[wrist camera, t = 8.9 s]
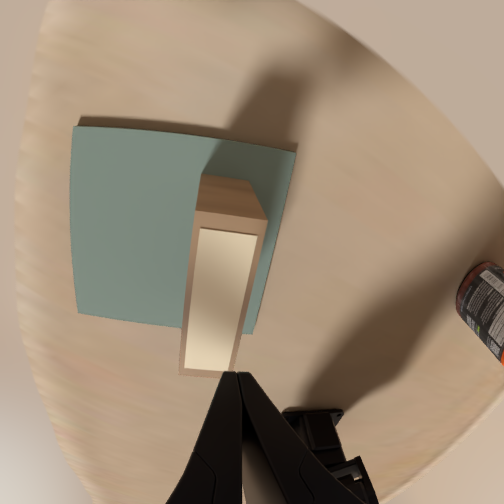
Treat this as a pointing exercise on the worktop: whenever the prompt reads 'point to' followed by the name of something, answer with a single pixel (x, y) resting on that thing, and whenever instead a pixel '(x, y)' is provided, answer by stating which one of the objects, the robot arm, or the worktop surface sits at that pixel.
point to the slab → (219, 274)
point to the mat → (156, 216)
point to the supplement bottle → (484, 305)
